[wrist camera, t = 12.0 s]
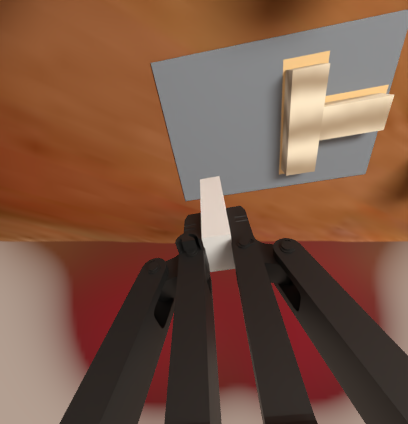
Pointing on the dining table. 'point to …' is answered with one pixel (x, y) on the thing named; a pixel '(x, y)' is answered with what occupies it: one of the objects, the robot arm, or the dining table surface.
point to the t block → (322, 116)
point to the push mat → (271, 102)
